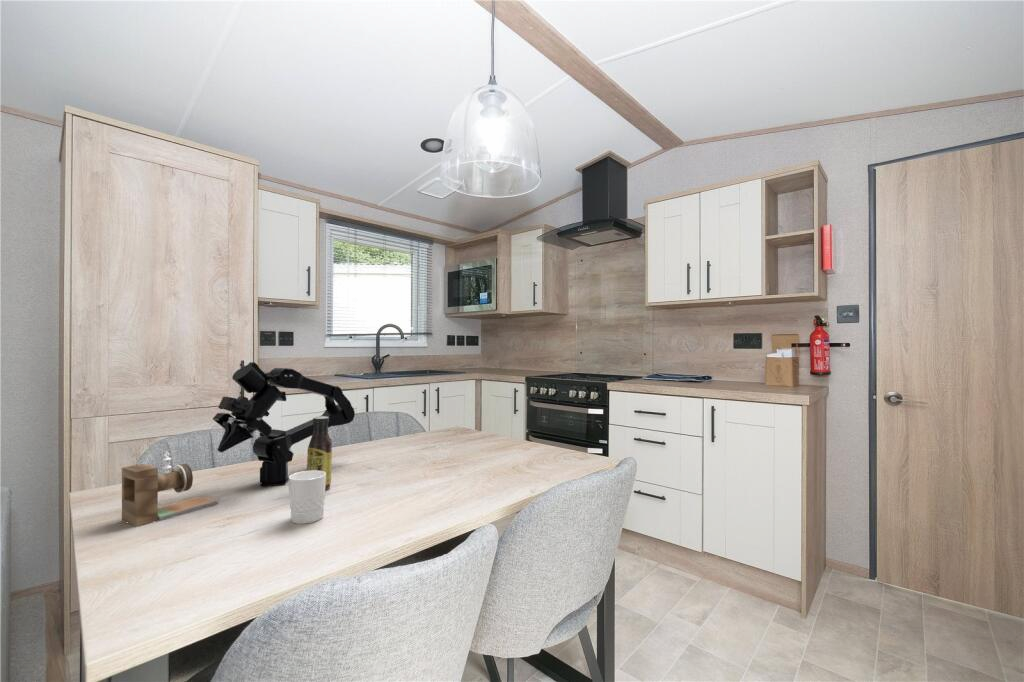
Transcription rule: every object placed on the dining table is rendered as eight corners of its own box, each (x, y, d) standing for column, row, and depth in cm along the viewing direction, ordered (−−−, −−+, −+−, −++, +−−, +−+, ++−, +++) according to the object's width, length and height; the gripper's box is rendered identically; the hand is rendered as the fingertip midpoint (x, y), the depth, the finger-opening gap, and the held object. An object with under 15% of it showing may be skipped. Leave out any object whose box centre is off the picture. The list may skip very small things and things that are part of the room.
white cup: (289, 527, 102) (289, 481, 102) (287, 515, 109) (287, 472, 109) (327, 521, 106) (327, 477, 106) (324, 510, 113) (324, 468, 113)
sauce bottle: (301, 491, 127) (301, 418, 127) (318, 484, 133) (318, 414, 133) (319, 494, 125) (320, 419, 125) (336, 487, 130) (337, 416, 130)
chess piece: (181, 485, 132) (182, 449, 132) (167, 490, 127) (167, 454, 127) (165, 484, 133) (166, 449, 133) (150, 490, 128) (150, 453, 128)
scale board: (200, 498, 121) (200, 495, 121) (218, 503, 117) (218, 500, 117) (142, 514, 110) (142, 511, 110) (159, 520, 106) (159, 517, 106)
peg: (178, 488, 116) (178, 462, 116) (192, 492, 113) (192, 465, 113) (138, 498, 109) (138, 470, 109) (151, 503, 105) (152, 474, 105)
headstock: (142, 515, 110) (142, 463, 110) (157, 520, 106) (157, 467, 106) (121, 520, 106) (121, 467, 106) (136, 526, 103) (136, 471, 103)
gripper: (220, 383, 131) (175, 429, 121) (261, 386, 121) (216, 436, 112) (247, 408, 137) (208, 453, 128) (288, 413, 128) (249, 462, 119)
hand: (219, 451), depth 121 cm, fingers closed
